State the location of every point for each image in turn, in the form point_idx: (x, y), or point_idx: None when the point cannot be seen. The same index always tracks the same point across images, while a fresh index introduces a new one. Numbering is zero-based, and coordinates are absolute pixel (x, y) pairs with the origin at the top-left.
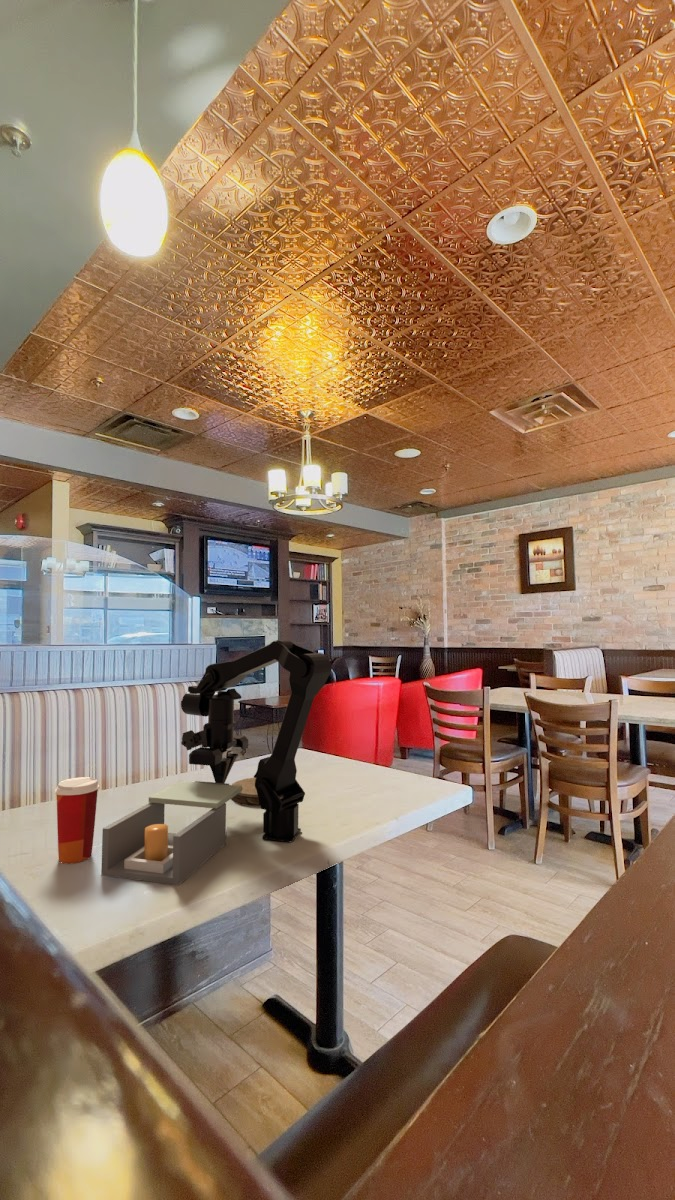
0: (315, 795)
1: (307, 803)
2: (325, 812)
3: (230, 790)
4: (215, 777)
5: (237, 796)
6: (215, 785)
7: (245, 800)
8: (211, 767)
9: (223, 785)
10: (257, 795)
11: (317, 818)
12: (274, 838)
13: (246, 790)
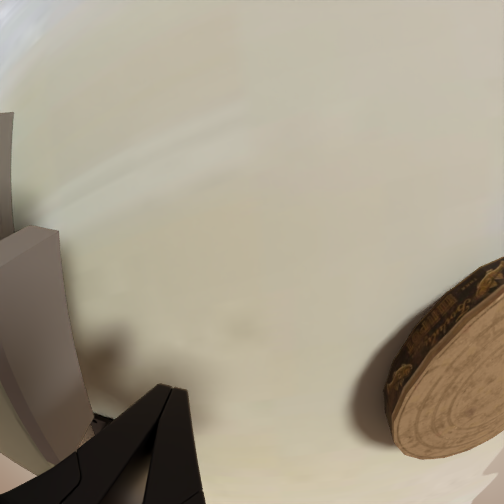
0: (434, 461)
1: (378, 468)
2: (303, 494)
3: (5, 450)
4: (102, 441)
5: (447, 322)
6: (2, 415)
7: (411, 354)
8: (17, 493)
9: (28, 445)
10: (396, 411)
11: (261, 489)
12: (94, 433)
13: (467, 361)
